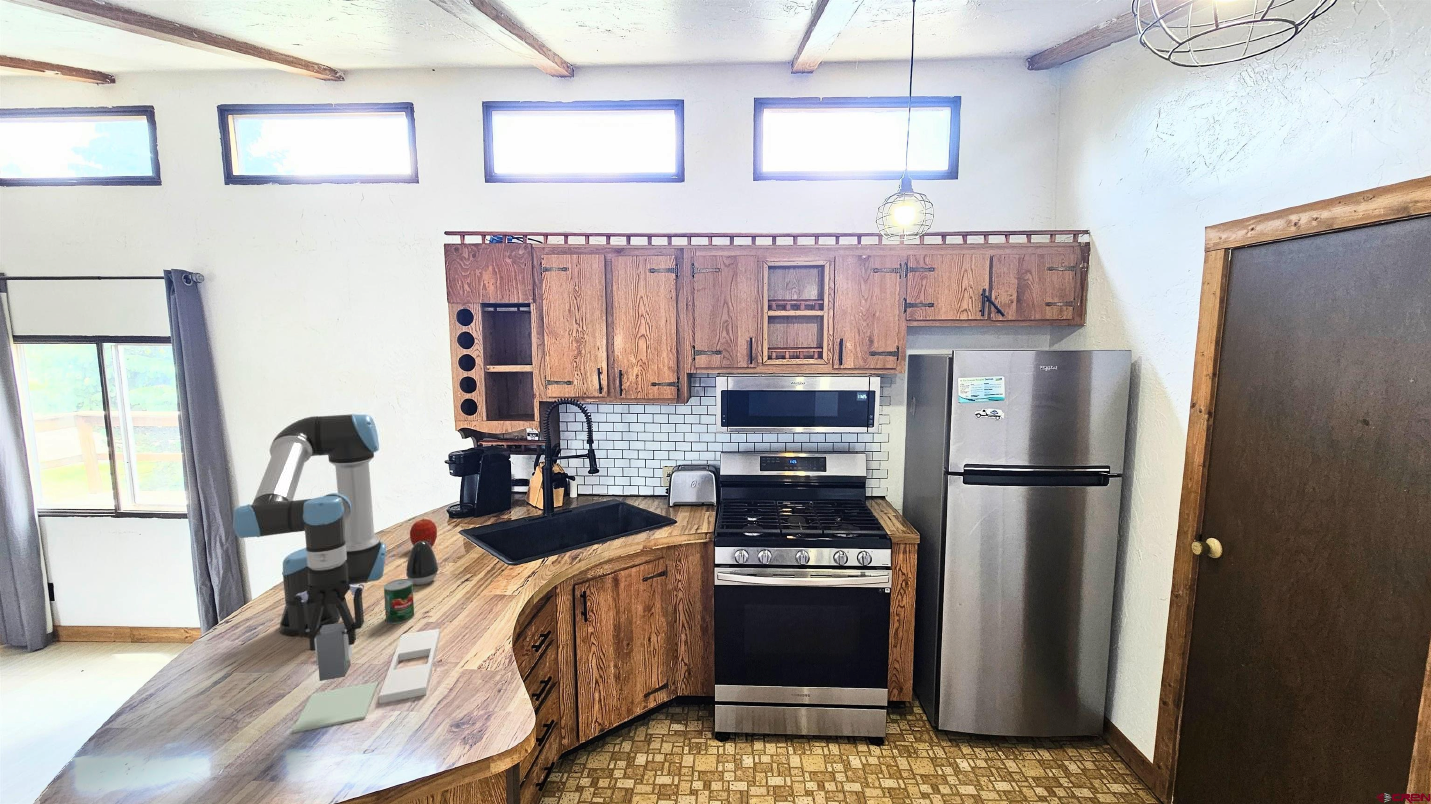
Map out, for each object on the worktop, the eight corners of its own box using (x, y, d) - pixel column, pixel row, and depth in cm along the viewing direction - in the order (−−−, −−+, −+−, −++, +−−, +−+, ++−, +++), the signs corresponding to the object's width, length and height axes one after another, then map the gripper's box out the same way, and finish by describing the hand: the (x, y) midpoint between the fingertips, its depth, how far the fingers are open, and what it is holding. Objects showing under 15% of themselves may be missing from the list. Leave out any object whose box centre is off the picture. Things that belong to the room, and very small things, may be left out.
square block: (319, 681, 128) (316, 635, 127) (326, 669, 133) (322, 625, 132) (344, 676, 130) (341, 631, 129) (350, 665, 134) (347, 621, 133)
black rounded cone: (444, 576, 206) (442, 536, 205) (427, 588, 196) (425, 547, 194) (418, 575, 207) (416, 535, 206) (400, 587, 197) (398, 545, 195)
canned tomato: (401, 625, 171) (399, 590, 170) (379, 622, 172) (377, 588, 171) (420, 613, 179) (418, 580, 177) (398, 610, 180) (396, 577, 179)
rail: (379, 703, 134) (379, 695, 133) (401, 641, 162) (401, 634, 161) (426, 694, 137) (425, 686, 137) (440, 635, 165) (439, 628, 165)
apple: (411, 547, 236) (409, 515, 234) (438, 544, 240) (436, 512, 238) (409, 556, 226) (408, 522, 225) (437, 552, 230) (435, 519, 229)
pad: (292, 733, 123) (291, 730, 123) (312, 695, 136) (312, 693, 136) (365, 718, 128) (364, 716, 128) (378, 683, 141) (378, 681, 141)
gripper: (273, 576, 122) (282, 676, 124) (368, 565, 128) (375, 660, 131) (286, 563, 129) (294, 659, 131) (376, 553, 135) (381, 644, 138)
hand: (334, 659), depth 131 cm, fingers closed on square block, 5 cm apart
